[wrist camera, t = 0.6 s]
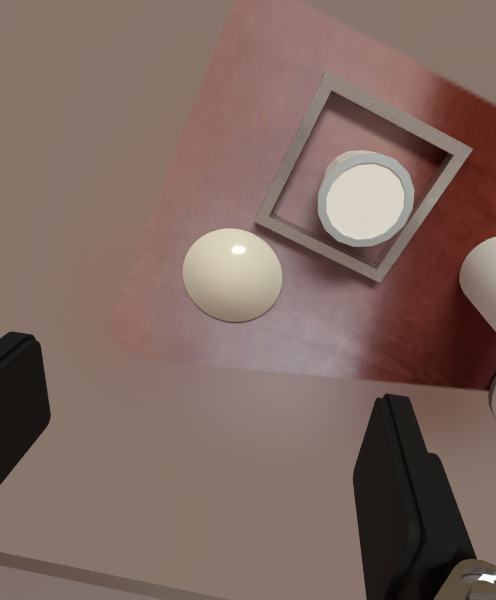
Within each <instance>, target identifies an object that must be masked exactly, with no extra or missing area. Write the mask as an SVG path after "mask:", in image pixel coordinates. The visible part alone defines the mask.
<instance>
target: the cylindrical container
mask: <svg viewBox="0 0 496 600" xmlns="http://www.w3.org/2000/svg"><path fill="white" fill-rule="evenodd" d="M459 282H460V285H461V289H462V290H463V292H464V294H465V295H466V296H467V298H468V299H469V300H470V301H471V302H472V304H473V305H474V306H475V307H476V308H477V310H478V311H479V312H480V313H481V315H482V316H483V317H484V318H485V319H486V321H487V322H488V323H489V324H490V326H491V327H492V328H493V329H494V330H495V332H496V237H493V238H490V239H488V240H486V241H484V242H482V243H481V244H479V245H478V246H477V247H475V248H474V249H473V250H472V251H471V252H470V253H469V254H468V256H467V257H466V259H465V260H464V262H463V264H462V266H461V270H460V274H459Z"/></svg>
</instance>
